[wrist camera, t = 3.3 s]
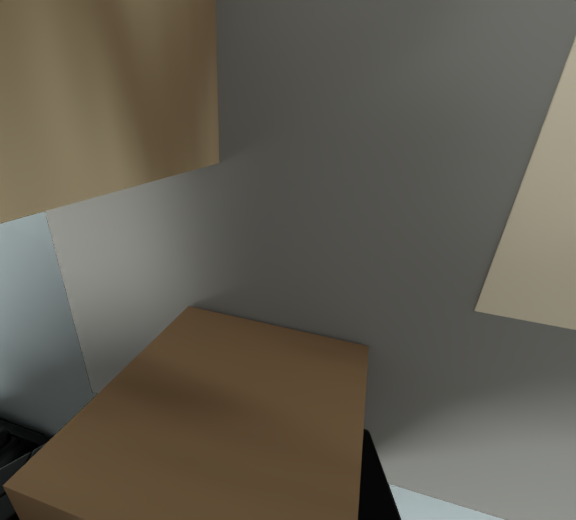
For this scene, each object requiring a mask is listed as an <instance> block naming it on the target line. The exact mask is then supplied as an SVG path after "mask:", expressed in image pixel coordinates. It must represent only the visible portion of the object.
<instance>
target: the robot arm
mask: <svg viewBox="0 0 576 520" xmlns="http://www.w3.org/2000/svg"><path fill="white" fill-rule="evenodd" d="M49 440H50V439H49V438H48V437H46V436H44V435H41V434H39V433H36V432H33V431H30V430H27V429H25V428H22V427H19V426H16V425H13V424H11V423H8V422H5V421H2V420H0V520H20V519H19V517H18V515H17V513H16V511H15V509H14V507H13V505H12V503H11V501H10V499H9V497H8V495H7V493H6V491H5V490H4V488H3V485H4V484H5V483H6V482H7V481H8V480H9V479H10V478H11V477H12V476H13V475H14V474H15V473H16V472H17V471H18V470H19V469H20V468H21V467H22V466H24V465H25V464H26V463H27V462H28V461H29V460H30V459H31V458H32V457H33V456H34V455H35V454H36V453H37V452H38V451H39V450H40V449H41V448H42V447H43V446H44V445H45V444H46V443H47V442H48V441H49ZM358 520H401V517H400V515H399V512H398V509H397V506H396V503H395V501H394V498H393V495H392V492H391V489H390V487H389V484H388V481H387V478H386V476H385V473H384V470H383V467H382V464H381V462H380V459H379V456H378V453H377V451H376V448H375V445H374V442H373V439H372V437H371V434H370V432H369V431H368V430H367V429H364V430H363V445H362V461H361V476H360V492H359V508H358Z"/></svg>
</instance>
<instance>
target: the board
mask: <svg viewBox="0 0 576 520" xmlns="http://www.w3.org/2000/svg"><path fill="white" fill-rule="evenodd" d="M215 1H216V44H217V87H218V130H219V163H218V164H214V165H210V166H207V167H203V168H199V169H196V170H192V171H189V172H185V173H181V174H178V175H174V176H170V177H167V178H163V179H160V180H156V181H152V182H149V183H145V184H141V185H138V186H134V187H131V188H127V189H123V190H120V191H116V192H112V193H109V194H105V195H102V196H98V197H94V198H91V199H87V200H84V201H80V202H76V203H73V204H69V205H65V206H62V207H58V208H55V209H51V210H47V211H45V214H46V218H47V222H48V225H49V229H50V233H51V237H52V241H53V245H54V248H55V252H56V256H57V260H58V264H59V268H60V271H61V275H62V279H63V283H64V287H65V290H66V294H67V298H68V302H69V306H70V310H71V313H72V317H73V321H74V325H75V329H76V332H77V336H78V340H79V344H80V348H81V352H82V355H83V359H84V363H85V367H86V371H87V375H88V378H89V382H90V386H91V390H92V392H93V393H96V394H98V393H99V392H100V391H101V390H102V389H103V388H104V387H105V386H106V385H107V384H108V383H109V382H110V381H112V380H113V379H114V378H115V377H116V376H117V375H118V374H119V373H120V372H121V371H122V370H123V369H124V368H125V367H126V366H127V365H128V364H129V363H130V362H131V361H132V360H133V359H134V358H135V357H136V356H137V355H138V354H139V353H141V352H142V351H143V350H144V349H145V348H146V347H147V346H148V345H149V344H150V343H151V342H152V341H153V340H154V339H155V338H156V337H157V336H158V335H159V334H160V333H161V332H162V331H163V330H164V329H165V328H166V327H167V326H168V325H169V324H171V323H172V322H173V321H174V320H175V319H176V318H177V317H178V316H179V315H180V314H181V313H182V312H183V311H184V310H185V309H186V308H187V307H188V306H190V307H195V308H199V309H204V310H208V311H213V312H217V313H222V314H226V315H231V316H235V317H240V318H244V319H249V320H253V321H258V322H262V323H267V324H271V325H276V326H280V327H285V328H289V329H294V330H298V331H303V332H307V333H312V334H316V335H321V336H325V337H330V338H334V339H339V340H343V341H348V342H352V343H357V344H361V345H366V346H369V352H368V367H367V383H366V398H365V414H364V429H367V430H368V431H369V432H370V434H371V437H372V439H373V442H374V445H375V448H376V451H377V453H378V456H379V459H380V462H381V464H382V467H383V470H384V473H385V476H386V478H387V481H388V484H391V485H395V486H398V487H401V488H404V489H408V490H411V491H414V492H417V493H421V494H424V495H427V496H430V497H433V498H437V499H440V500H443V501H446V502H450V503H453V504H456V505H459V506H463V507H466V508H469V509H472V510H476V511H479V512H482V513H485V514H489V515H492V516H495V517H498V518H502V519H505V520H576V0H215Z"/></svg>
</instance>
